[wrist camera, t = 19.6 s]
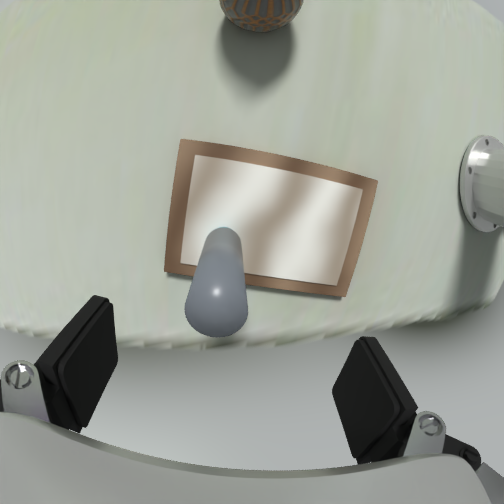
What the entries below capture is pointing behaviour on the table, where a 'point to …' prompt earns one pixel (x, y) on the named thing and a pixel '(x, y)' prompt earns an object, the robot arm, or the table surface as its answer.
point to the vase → (261, 13)
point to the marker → (218, 286)
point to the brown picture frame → (269, 216)
